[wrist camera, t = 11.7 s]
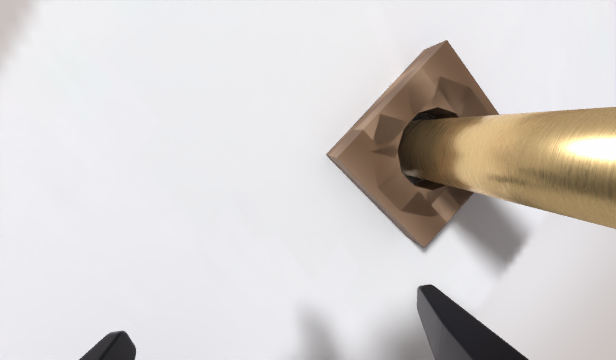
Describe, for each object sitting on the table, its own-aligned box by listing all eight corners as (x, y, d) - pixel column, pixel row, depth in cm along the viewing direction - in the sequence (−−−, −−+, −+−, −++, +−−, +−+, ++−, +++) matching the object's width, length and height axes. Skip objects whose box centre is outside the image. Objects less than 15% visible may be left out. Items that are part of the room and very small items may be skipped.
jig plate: (406, 235, 24) (424, 247, 22) (326, 154, 22) (336, 157, 19) (492, 141, 25) (519, 142, 22) (424, 49, 22) (446, 40, 20)
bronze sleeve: (424, 183, 24) (707, 263, 9) (380, 162, 23) (626, 216, 8) (447, 134, 24) (775, 138, 9) (404, 110, 23) (701, 72, 8)
